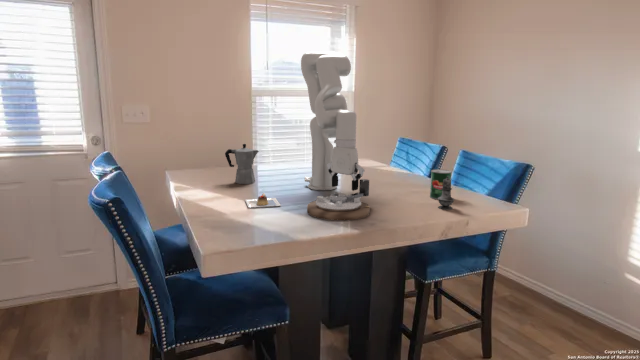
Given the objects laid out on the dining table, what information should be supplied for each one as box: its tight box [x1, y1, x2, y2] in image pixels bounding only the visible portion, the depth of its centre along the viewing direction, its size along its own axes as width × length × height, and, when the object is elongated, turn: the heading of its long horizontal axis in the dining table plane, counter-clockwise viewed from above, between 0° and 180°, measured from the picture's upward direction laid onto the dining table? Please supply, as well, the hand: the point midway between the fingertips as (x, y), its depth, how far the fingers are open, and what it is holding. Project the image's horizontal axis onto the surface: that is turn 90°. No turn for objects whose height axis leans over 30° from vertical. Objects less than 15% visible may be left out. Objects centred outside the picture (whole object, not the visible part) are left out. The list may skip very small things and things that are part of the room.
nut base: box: [306, 200, 371, 222], centre depth 150 cm, size 22×22×2 cm
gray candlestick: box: [437, 176, 455, 211], centre depth 155 cm, size 6×6×12 cm
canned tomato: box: [429, 168, 452, 200], centre depth 171 cm, size 8×8×11 cm
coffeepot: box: [224, 143, 260, 185], centre depth 197 cm, size 15×9×18 cm, turn 103°
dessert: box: [244, 192, 282, 209], centre depth 159 cm, size 12×12×5 cm
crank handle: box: [315, 178, 370, 212], centre depth 152 cm, size 24×16×7 cm
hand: (344, 188), depth 164 cm, fingers open, 9 cm apart
